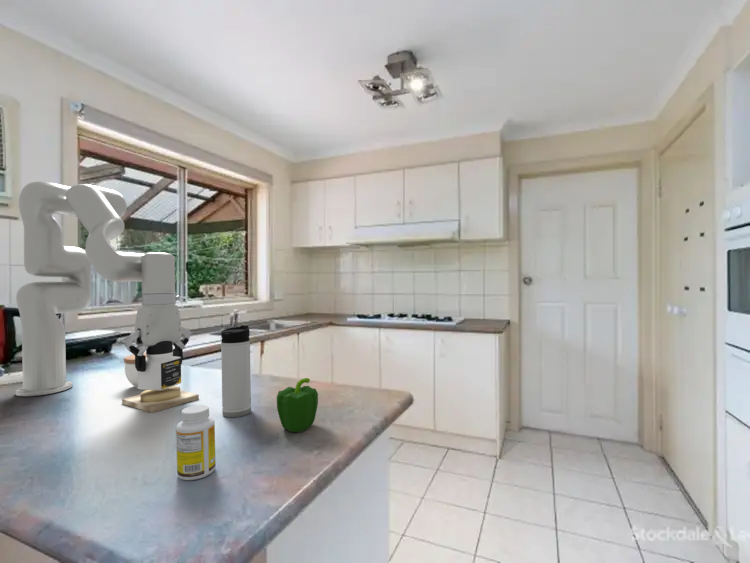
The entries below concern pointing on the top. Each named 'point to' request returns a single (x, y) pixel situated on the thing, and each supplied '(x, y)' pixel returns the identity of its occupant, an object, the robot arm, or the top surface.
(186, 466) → the supplement bottle
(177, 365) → the medicine bottle
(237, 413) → the travel mug
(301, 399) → the bell pepper
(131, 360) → the lidded bowl
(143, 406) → the board
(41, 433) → the top surface
